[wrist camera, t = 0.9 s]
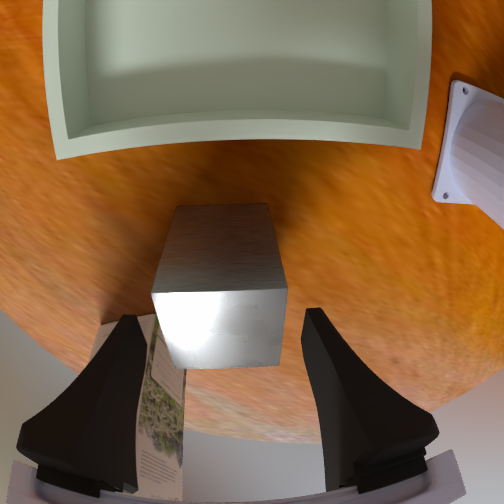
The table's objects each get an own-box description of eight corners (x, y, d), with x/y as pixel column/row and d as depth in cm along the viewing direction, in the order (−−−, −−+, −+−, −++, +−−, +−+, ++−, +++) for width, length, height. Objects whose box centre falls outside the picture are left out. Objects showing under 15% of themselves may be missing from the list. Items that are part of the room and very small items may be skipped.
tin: (267, 202, 17) (288, 288, 11) (264, 273, 19) (279, 365, 14) (176, 206, 16) (150, 293, 11) (187, 276, 19) (175, 368, 13)
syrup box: (97, 323, 21) (53, 497, 9) (159, 309, 21) (130, 517, 9) (134, 364, 25) (112, 516, 13) (191, 354, 24) (186, 526, 12)
